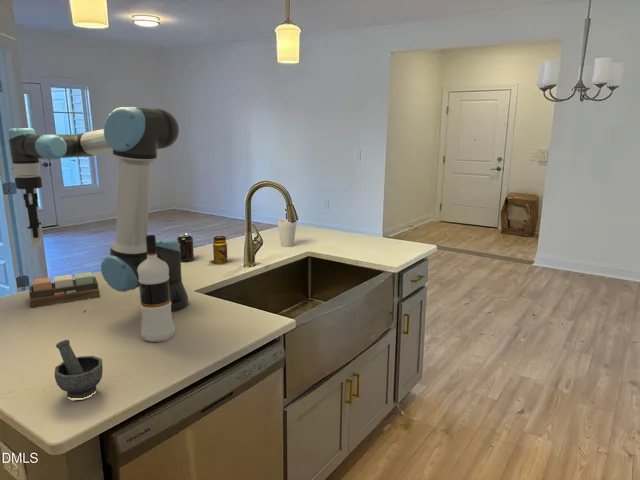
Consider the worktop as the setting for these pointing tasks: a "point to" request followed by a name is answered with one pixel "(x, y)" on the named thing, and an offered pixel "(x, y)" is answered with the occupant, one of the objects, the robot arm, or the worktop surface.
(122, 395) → the worktop surface
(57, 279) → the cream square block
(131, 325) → the worktop surface
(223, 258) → the condiment
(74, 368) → the mortar and pestle
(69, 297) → the keypad
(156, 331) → the vodka
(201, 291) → the worktop surface
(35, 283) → the terracotta key
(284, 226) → the foam cup
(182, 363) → the worktop surface
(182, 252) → the beverage can
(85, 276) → the sage key
